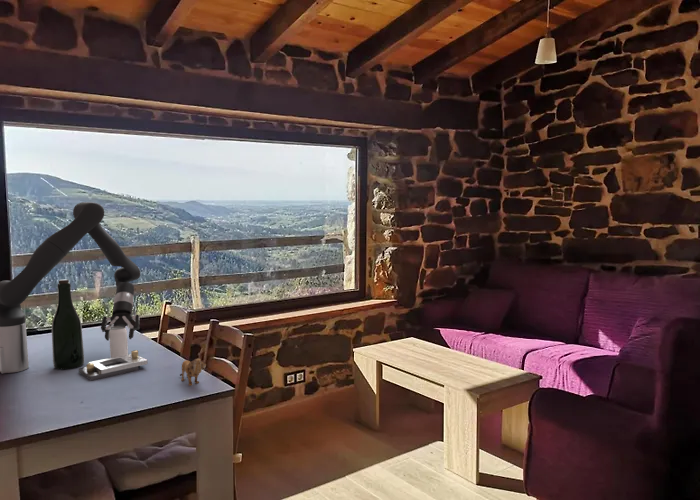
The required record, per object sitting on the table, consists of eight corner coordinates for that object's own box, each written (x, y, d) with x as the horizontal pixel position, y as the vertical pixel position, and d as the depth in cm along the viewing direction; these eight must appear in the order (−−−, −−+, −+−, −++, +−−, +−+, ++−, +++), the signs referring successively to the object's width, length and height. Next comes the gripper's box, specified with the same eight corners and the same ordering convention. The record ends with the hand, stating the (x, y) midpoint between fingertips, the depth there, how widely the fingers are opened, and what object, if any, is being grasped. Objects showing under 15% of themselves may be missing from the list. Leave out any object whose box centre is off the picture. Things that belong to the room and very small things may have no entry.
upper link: (101, 374, 191) (100, 362, 191) (88, 366, 200) (88, 355, 200) (147, 363, 202) (147, 353, 202) (133, 357, 212) (133, 346, 211)
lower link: (91, 380, 189) (90, 369, 188) (79, 372, 198) (78, 361, 198) (138, 370, 200) (137, 359, 200) (124, 362, 209) (124, 352, 209)
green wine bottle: (71, 370, 200) (66, 281, 197) (46, 369, 202) (40, 281, 199) (90, 362, 211) (85, 277, 208) (66, 361, 213) (61, 277, 210)
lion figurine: (208, 384, 183) (207, 358, 182) (194, 388, 179) (193, 361, 178) (186, 375, 193) (185, 350, 192) (172, 378, 189) (171, 353, 189)
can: (131, 354, 220) (129, 325, 219) (123, 359, 214) (121, 329, 213) (116, 354, 221) (114, 325, 220) (107, 359, 214) (105, 329, 213)
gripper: (103, 301, 223) (97, 335, 213) (139, 299, 226) (136, 332, 216) (106, 311, 229) (101, 345, 219) (142, 309, 232) (139, 342, 222)
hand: (118, 338), depth 217 cm, fingers open, 8 cm apart
